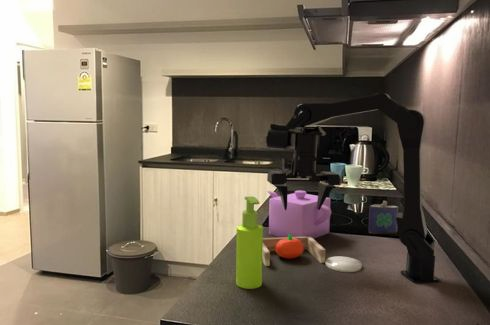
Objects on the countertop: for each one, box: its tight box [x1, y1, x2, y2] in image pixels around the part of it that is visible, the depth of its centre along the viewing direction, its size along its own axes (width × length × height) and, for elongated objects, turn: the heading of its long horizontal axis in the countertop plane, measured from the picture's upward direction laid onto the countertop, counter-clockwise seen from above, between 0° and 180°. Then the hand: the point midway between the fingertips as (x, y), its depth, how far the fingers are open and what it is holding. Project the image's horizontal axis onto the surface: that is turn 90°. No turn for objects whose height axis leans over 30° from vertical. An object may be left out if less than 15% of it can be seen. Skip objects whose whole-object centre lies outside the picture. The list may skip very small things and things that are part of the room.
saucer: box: [324, 255, 363, 273], centre depth 106 cm, size 9×9×1 cm
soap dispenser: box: [235, 196, 264, 290], centre depth 93 cm, size 6×7×20 cm
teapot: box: [267, 190, 332, 240], centre depth 134 cm, size 15×25×14 cm, turn 47°
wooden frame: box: [262, 236, 326, 267], centre depth 112 cm, size 12×16×4 cm
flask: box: [368, 200, 399, 235], centre depth 136 cm, size 9×3×11 cm, turn 88°
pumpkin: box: [275, 234, 304, 260], centre depth 112 cm, size 7×8×6 cm
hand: (301, 209), depth 111 cm, fingers open, 9 cm apart
